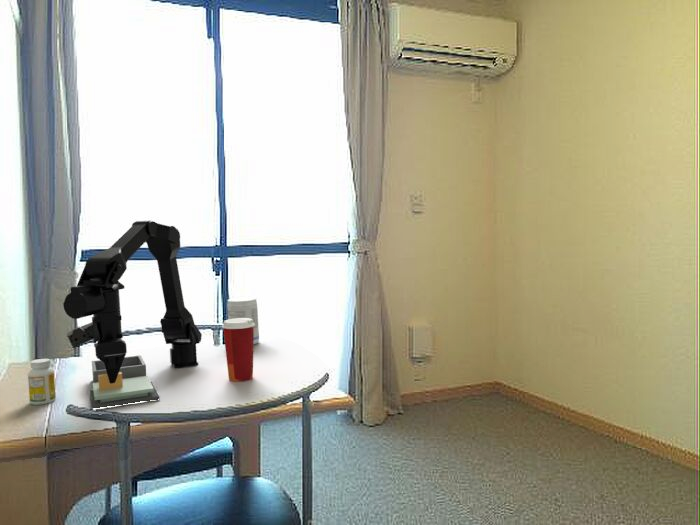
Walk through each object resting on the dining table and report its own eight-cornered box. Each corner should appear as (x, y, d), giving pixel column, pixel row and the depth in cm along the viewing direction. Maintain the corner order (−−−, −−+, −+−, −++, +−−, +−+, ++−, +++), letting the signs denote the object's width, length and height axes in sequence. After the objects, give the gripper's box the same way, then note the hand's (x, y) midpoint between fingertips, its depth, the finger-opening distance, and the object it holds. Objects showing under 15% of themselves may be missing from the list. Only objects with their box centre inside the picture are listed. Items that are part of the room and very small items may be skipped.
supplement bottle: (35, 406, 133) (32, 364, 132) (25, 402, 136) (22, 361, 136) (60, 400, 137) (57, 359, 136) (50, 396, 140) (47, 356, 140)
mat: (151, 385, 147) (151, 381, 147) (159, 400, 135) (159, 396, 135) (90, 394, 141) (90, 390, 141) (92, 410, 129) (91, 406, 129)
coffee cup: (262, 375, 154) (260, 317, 152) (247, 384, 146) (244, 323, 145) (234, 373, 156) (231, 317, 155) (217, 381, 149) (214, 322, 147)
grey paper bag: (250, 339, 200) (248, 296, 199) (264, 343, 193) (262, 298, 191) (223, 343, 194) (221, 299, 193) (238, 348, 187) (236, 301, 185)
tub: (141, 373, 159) (140, 355, 159) (146, 384, 148) (145, 364, 148) (93, 380, 154) (91, 361, 154) (94, 391, 143) (93, 371, 143)
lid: (147, 382, 146) (146, 363, 146) (154, 395, 135) (152, 375, 135) (93, 390, 141) (91, 370, 140) (94, 404, 130) (93, 383, 129)
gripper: (67, 309, 140) (72, 374, 142) (67, 320, 123) (72, 394, 125) (118, 304, 145) (122, 367, 146) (124, 315, 128) (129, 386, 129)
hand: (111, 378), depth 137 cm, fingers open, 9 cm apart
